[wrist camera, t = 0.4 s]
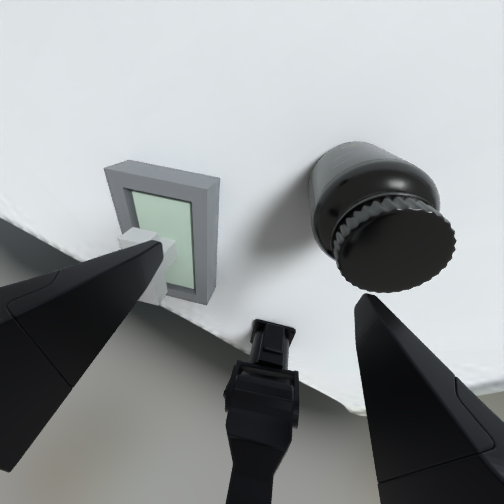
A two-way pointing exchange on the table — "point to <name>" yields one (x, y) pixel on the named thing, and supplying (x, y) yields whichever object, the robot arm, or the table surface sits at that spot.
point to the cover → (164, 241)
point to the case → (180, 187)
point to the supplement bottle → (378, 218)
